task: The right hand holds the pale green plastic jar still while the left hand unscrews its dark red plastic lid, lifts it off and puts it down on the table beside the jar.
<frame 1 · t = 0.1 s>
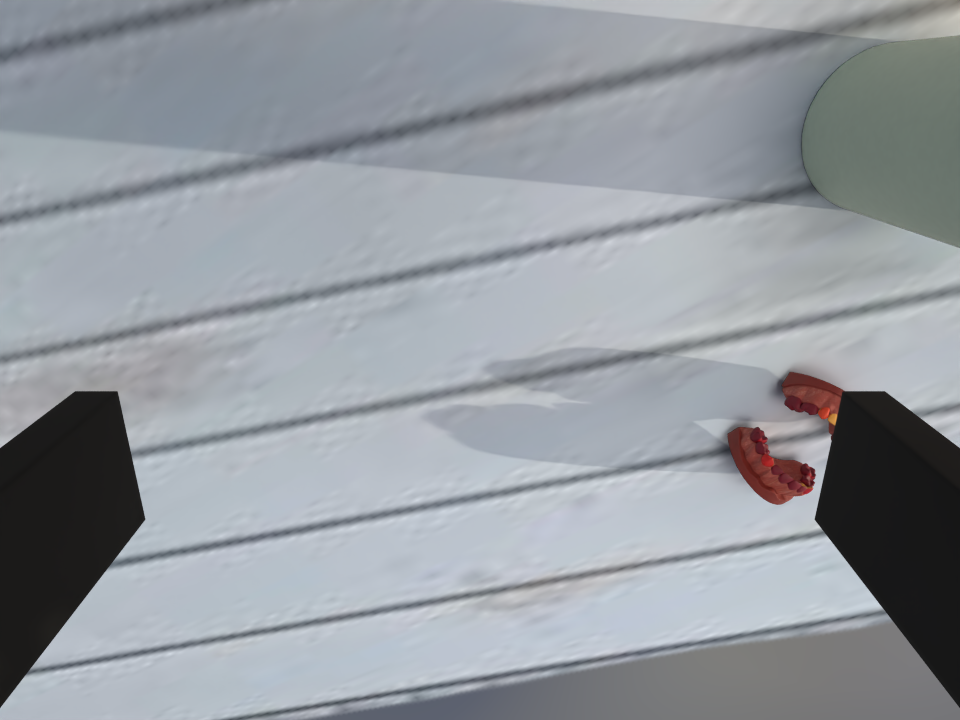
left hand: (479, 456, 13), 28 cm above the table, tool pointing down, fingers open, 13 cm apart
dental model: (787, 425, 44), on the table
jar: (882, 130, 37), on the table
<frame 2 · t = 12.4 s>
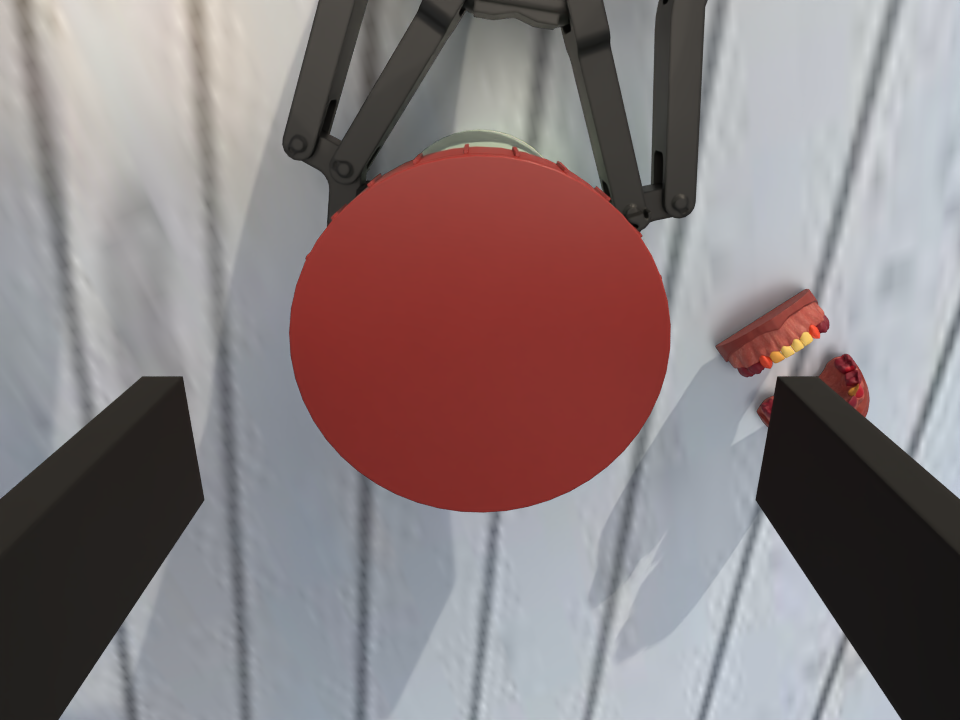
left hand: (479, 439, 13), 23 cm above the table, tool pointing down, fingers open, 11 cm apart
right hand: (464, 349, 30), fingers closed on jar, 9 cm apart
dental model: (781, 354, 37), on the table
jar: (479, 220, 35), on the table, touching right hand
lid: (479, 347, 18), point 18 cm above the table, screwed on, not yet turned
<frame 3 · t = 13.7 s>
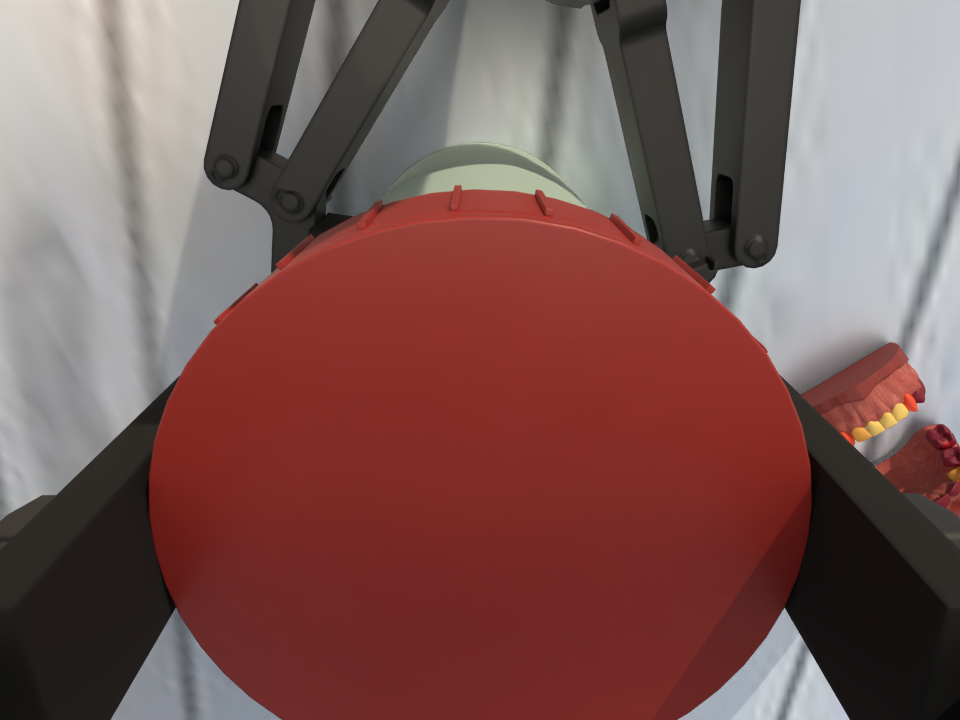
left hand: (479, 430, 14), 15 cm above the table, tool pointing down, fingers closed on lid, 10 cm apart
dental model: (856, 421, 30), on the table
jar: (479, 257, 27), on the table, touching right hand
lid: (480, 531, 11), point 18 cm above the table, screwed on, not yet turned, touching left hand
when the left hand's fingers open (15 cm above the table, at t = 15.3 s): lid stays where it is, point 18 cm above the table.
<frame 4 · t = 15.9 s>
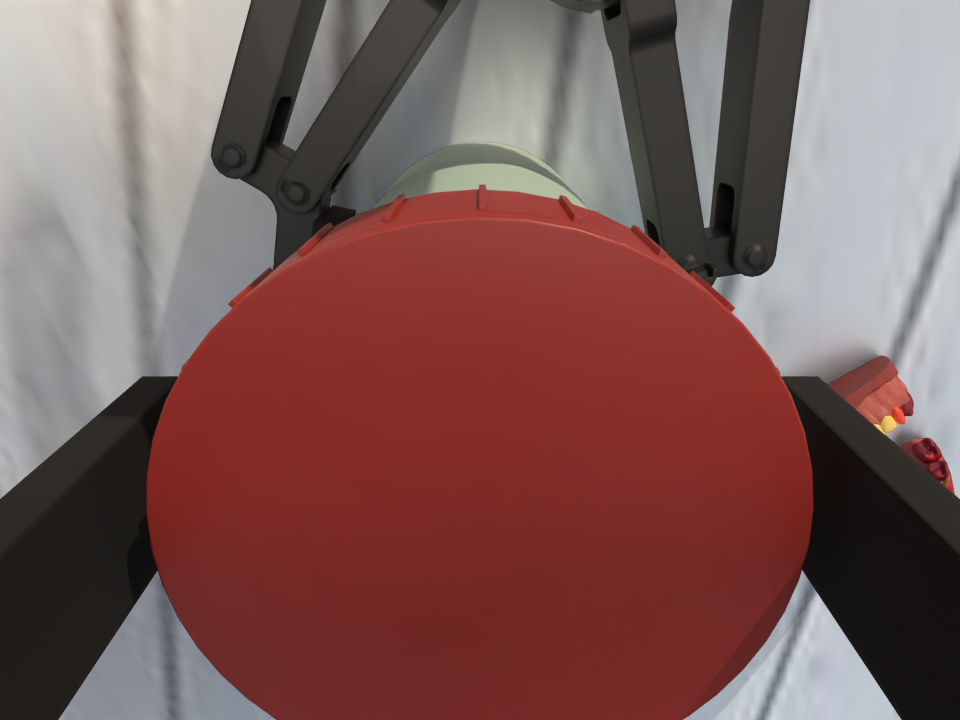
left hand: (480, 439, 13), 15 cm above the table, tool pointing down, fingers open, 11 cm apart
dental model: (844, 431, 30), on the table
jar: (479, 256, 27), on the table, touching right hand
lid: (479, 533, 10), point 18 cm above the table, turned 84° so far, risen 0.2 cm, still on its thread
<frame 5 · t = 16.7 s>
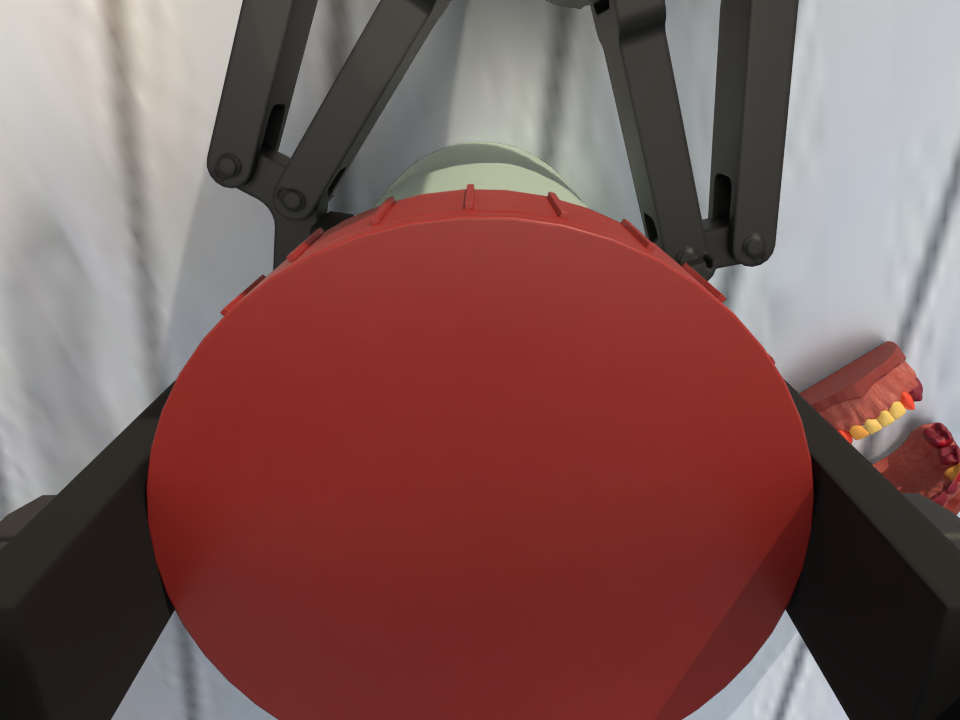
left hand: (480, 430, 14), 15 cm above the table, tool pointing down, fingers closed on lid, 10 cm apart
dental model: (854, 419, 30), on the table
jar: (480, 255, 27), on the table, touching right hand
lid: (480, 533, 10), point 18 cm above the table, turned 84° so far, risen 0.2 cm, still on its thread, touching left hand
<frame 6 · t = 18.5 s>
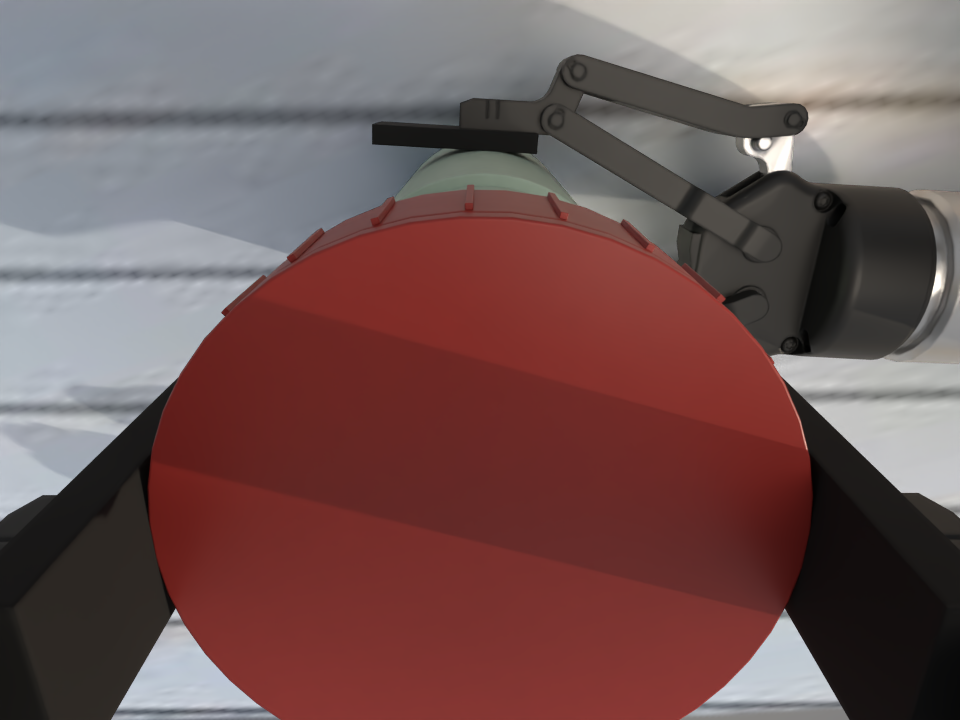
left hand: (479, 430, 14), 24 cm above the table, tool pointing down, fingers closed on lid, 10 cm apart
right hand: (377, 247, 30), fingers closed on jar, 9 cm apart
jar: (482, 226, 36), on the table, touching right hand
lid: (480, 532, 11), point 27 cm above the table, off its thread, touching left hand
when the left hand's fingers open (0 cm above the table, at t = 24.1 s): lid drops 2 cm, point 2 cm above the table.
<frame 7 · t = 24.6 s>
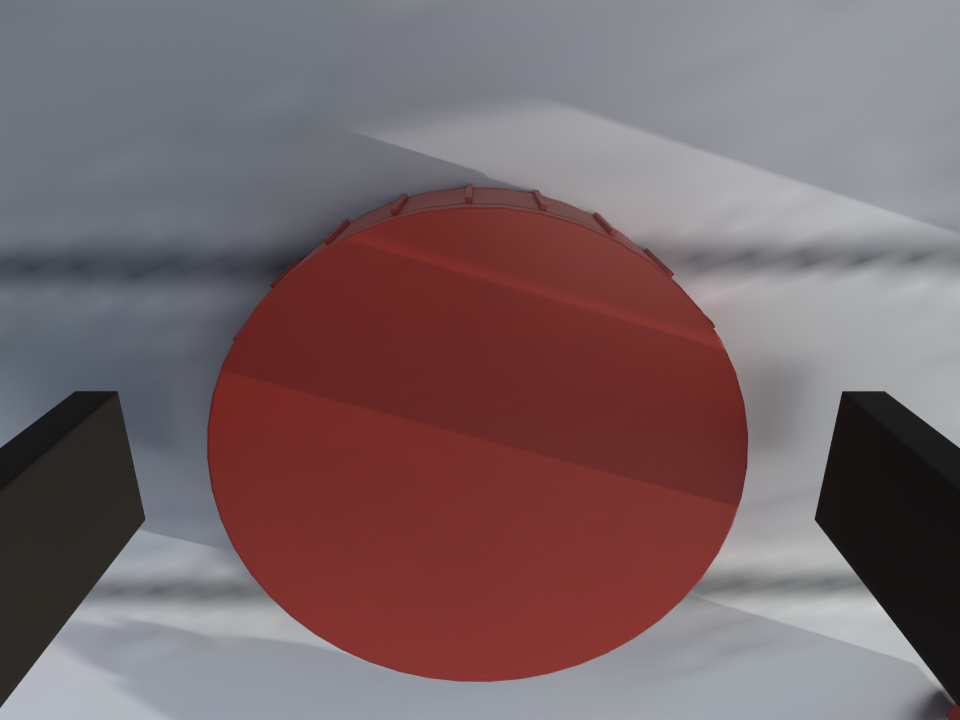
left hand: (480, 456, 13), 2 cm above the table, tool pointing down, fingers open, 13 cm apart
lid: (477, 469, 13), point 2 cm above the table, off its thread
when the right hand's fingers open (6 cm above the table, at t = 25.1 s): jar stays where it is, on the table.
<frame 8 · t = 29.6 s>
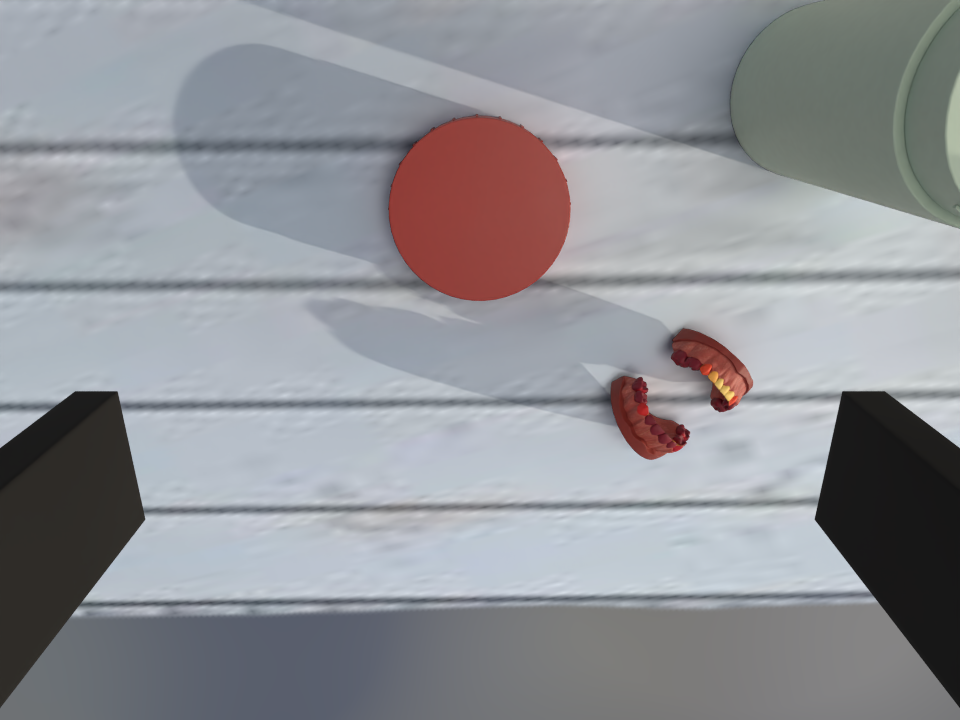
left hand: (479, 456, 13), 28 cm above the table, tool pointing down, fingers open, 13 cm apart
dental model: (672, 384, 43), on the table
jar: (811, 93, 37), on the table
lid: (479, 212, 37), point 2 cm above the table, off its thread
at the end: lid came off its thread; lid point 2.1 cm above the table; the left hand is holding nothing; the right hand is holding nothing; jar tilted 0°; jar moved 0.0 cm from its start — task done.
